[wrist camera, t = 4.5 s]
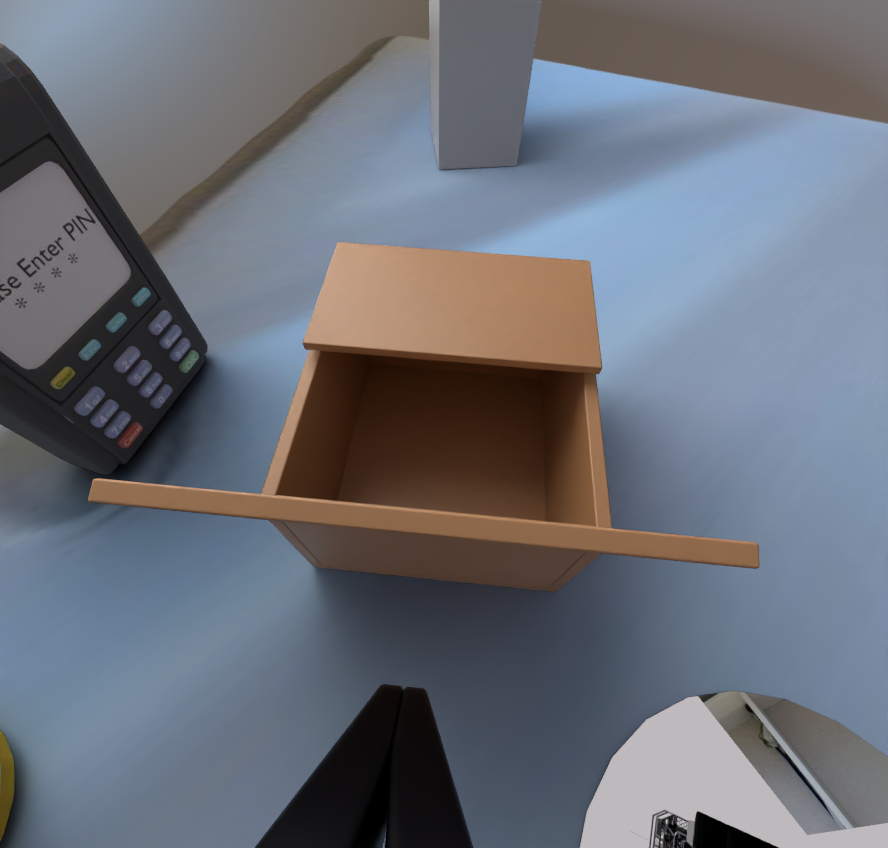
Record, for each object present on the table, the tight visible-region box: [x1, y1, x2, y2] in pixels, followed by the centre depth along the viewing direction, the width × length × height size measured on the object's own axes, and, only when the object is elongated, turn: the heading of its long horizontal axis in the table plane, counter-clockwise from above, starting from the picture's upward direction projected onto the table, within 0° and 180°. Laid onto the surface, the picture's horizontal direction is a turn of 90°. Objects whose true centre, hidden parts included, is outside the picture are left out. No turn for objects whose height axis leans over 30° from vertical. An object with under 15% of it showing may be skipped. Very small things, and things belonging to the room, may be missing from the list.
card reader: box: [0, 43, 207, 475], centre depth 18 cm, size 9×4×15 cm, turn 162°
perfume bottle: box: [429, 0, 542, 170], centre depth 32 cm, size 7×7×18 cm
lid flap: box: [88, 478, 759, 569], centre depth 10 cm, size 6×11×1 cm
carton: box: [261, 242, 612, 592], centre depth 19 cm, size 12×11×8 cm
